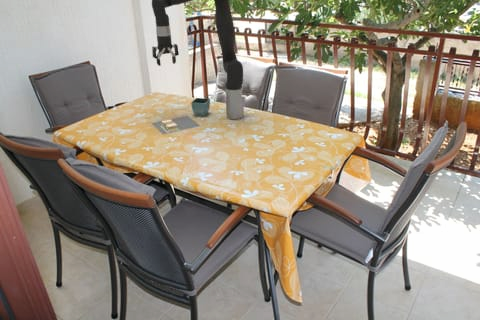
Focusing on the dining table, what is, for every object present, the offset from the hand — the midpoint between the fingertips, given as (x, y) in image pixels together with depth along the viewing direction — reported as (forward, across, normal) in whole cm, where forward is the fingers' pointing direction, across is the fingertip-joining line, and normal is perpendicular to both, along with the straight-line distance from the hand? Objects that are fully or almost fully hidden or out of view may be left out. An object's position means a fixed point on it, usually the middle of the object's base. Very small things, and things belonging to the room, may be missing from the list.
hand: (166, 64), depth 225 cm
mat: (+30, -4, -16) cm, 34 cm away
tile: (+29, -9, -20) cm, 37 cm away
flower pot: (+30, +15, -9) cm, 35 cm away
